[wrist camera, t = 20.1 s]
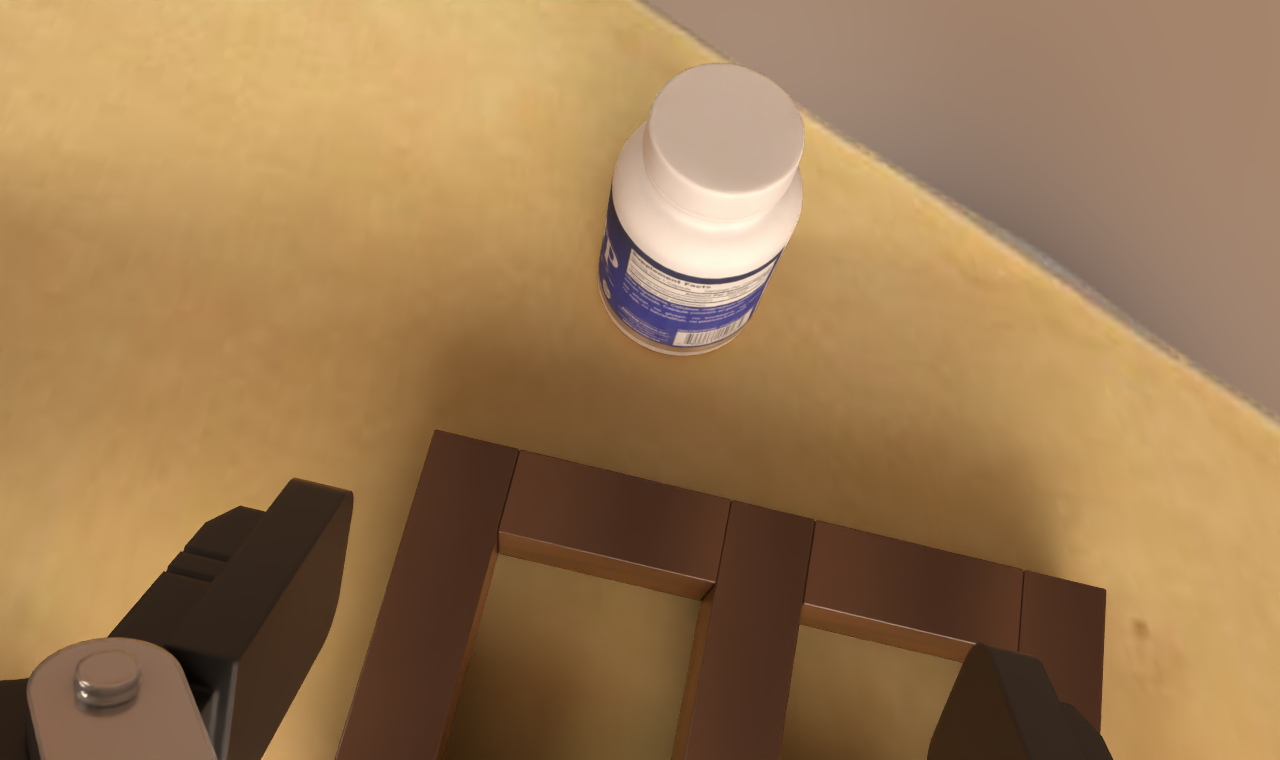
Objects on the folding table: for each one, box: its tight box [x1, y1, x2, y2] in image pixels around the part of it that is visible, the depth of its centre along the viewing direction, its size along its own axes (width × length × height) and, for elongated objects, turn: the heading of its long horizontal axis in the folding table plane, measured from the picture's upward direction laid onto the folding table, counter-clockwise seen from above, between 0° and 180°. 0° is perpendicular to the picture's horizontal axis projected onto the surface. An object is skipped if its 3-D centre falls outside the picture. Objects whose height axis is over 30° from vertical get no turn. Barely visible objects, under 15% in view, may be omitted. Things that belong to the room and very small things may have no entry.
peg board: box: [334, 430, 1106, 760], centre depth 30 cm, size 19×11×2 cm, turn 78°
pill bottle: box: [598, 63, 805, 356], centre depth 32 cm, size 5×5×9 cm
